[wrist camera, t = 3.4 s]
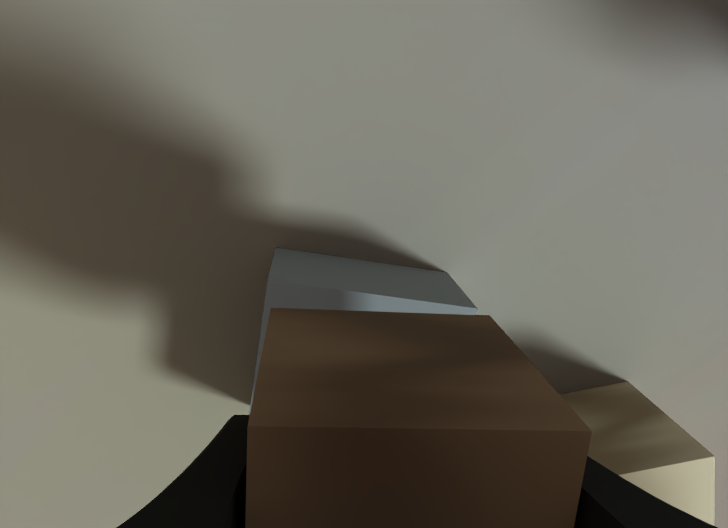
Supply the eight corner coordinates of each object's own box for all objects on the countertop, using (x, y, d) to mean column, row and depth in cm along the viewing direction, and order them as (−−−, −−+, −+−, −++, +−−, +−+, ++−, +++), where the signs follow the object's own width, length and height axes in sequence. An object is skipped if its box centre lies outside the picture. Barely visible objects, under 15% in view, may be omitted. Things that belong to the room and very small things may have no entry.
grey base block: (446, 271, 20) (477, 308, 16) (413, 421, 22) (435, 488, 18) (276, 246, 20) (267, 279, 16) (254, 404, 21) (241, 470, 17)
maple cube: (626, 380, 22) (714, 456, 17) (631, 490, 23) (713, 589, 19) (499, 404, 22) (551, 488, 17) (510, 514, 23) (562, 620, 18)
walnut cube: (489, 315, 13) (592, 431, 8) (465, 502, 15) (542, 696, 10) (271, 307, 13) (247, 426, 8) (264, 502, 14) (241, 706, 9)
